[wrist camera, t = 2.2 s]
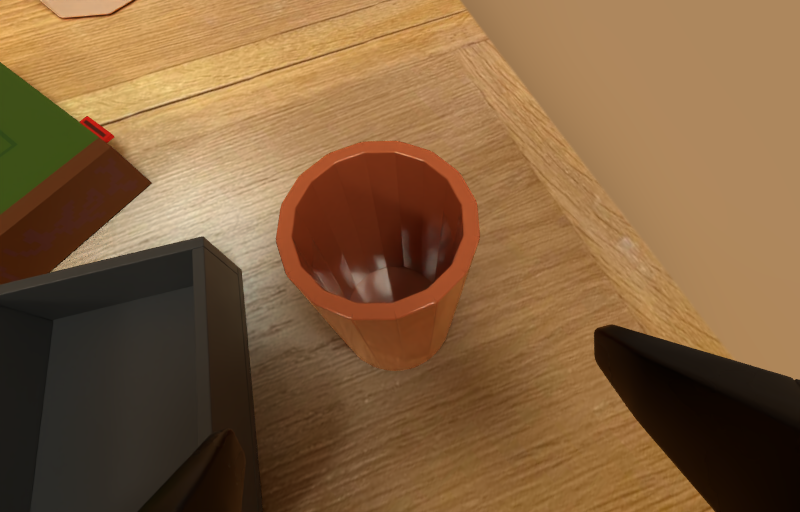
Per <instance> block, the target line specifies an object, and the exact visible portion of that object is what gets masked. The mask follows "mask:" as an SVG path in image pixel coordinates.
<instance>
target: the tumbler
mask: <svg viewBox="0 0 800 512" xmlns="http://www.w3.org/2000/svg"><path fill="white" fill-rule="evenodd" d="M479 238H480V230H479V219H478V207H477V203H476V200H475V198H474V196H473V195H472V193H471V191H470V190H469V188H468V186H467V184H466V183H465V181H464V179H463V177H462V176H461V174H460V173H459V172H458V171H457V170H456V169H455V168H453V167H452V166H451V165H449V164H448V163H447V162H445V161H444V160H443V159H441V158H440V157H439V156H438V155H436V154H435V153H434V152H431V151H430V150H426V149H423V148H420V147H417V146H413V145H410V144H407V143H403V142H400V141H398V142H397V141H368V142H360V143H357V144H354V145H351V146H348V147H345V148H342V149H339V150H337V151H334V152H331V153H329V155H328V154H327V155H325V156H324V157H323V158H321V159H320V160H319V161H318V162H316V163H315V164H314V165H312V166H311V167H310V168H309V169H307V170H306V171H305V172H303V173H302V174H301V175H300V176H299V177H298V178H297V180H296V182H295V183H294V185H293V187H292V188H291V190H290V191H289V193H288V195H287V196H286V198H285V199H284V201H283V203H282V205H281V208H280V215H279V222H278V228H277V235H276V244H277V247H278V250H279V253H280V257H281V260H282V263H283V266H284V270H285V273H286V275H287V277H288V278H289V279H290V280H291V281H292V283H293V284H294V285H295V286H296V287H297V288H298V289H299V291H300V292H301V293H302V294H303V295H304V296H305V297H306V299H307V300H308V301H309V302H310V303H311V304H312V305H313V307H314V308H315V309H316V310H317V311H318V312H319V313H320V315H321V316H322V317H323V318H324V319H325V320H326V321H327V323H328V324H329V325H330V326H331V327H332V328H333V329H334V330H335V332H336V333H337V334H338V335H339V336H340V337H341V338H342V340H343V341H344V342H345V343H346V344H347V345H348V346H349V347H350V348H351V350H352V351H353V352H354V353H355V354H356V355H357V356H358V357H359V358H360V359H361V360H363V361H365V362H366V363H368V364H370V365H371V366H374V367H376V368H379V369H383V370H389V371H401V370H407V369H411V368H414V367H417V366H419V365H421V364H423V363H424V362H426V361H427V360H429V359H430V358H431V357H432V356H433V355H435V354H436V352H437V351H438V350H439V349H440V348H441V346H442V344H443V343H444V342H445V339H446V336H447V334H448V331H449V328H450V326H451V323H452V320H453V317H454V314H455V311H456V308H457V305H458V302H459V299H460V296H461V293H462V290H463V287H464V284H465V281H466V279H467V276H468V273H469V270H470V267H471V264H472V261H473V258H474V255H475V252H476V249H477V246H478V243H479V240H480V239H479Z"/></svg>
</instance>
